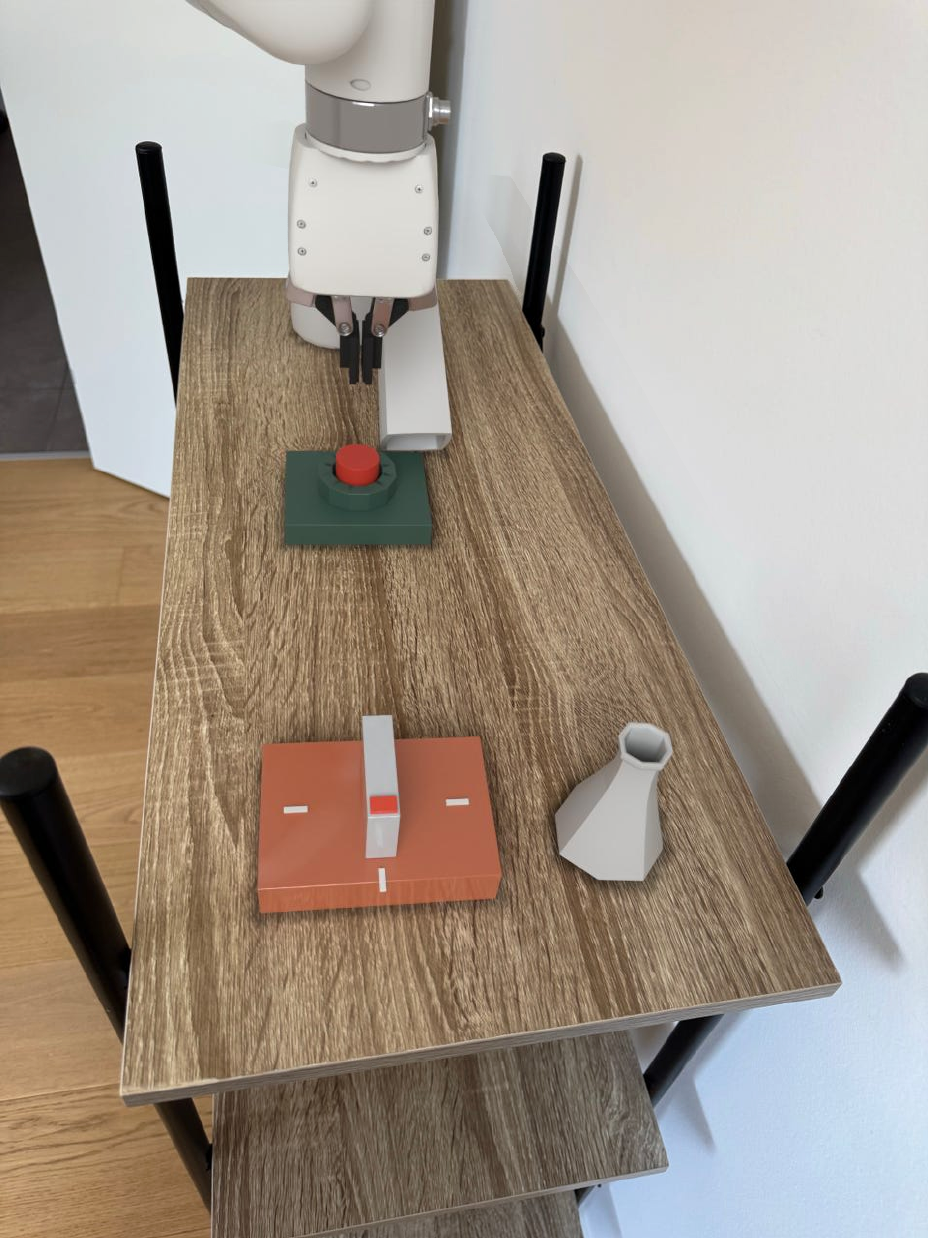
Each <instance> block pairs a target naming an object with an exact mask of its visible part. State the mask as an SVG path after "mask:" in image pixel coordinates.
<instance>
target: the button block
mask: <svg viewBox="0 0 928 1238" xmlns="http://www.w3.org/2000/svg"><path fill="white" fill-rule="evenodd" d="M339 449H340V448H338V449H335V450H329V451H328V450H286V451H285V452H286V453H285V482H284V483H285V491H284V494H285V495H284V542H285V546H428V545H431V542H432V541H431V540H432V532H433V520H432V515H431V508H430V500H429V493H428V487H427V479H426V473H425V465H424V458H423V453H422V452H414V451H379V450H376V451H377V453H378V454H379V476H378V478H377V480H376V481H375V482H373V483H371V484H368V485H349V484H347V483H344V482H341V481H340V480H339V479H338V478H337V476H336V453H337V452H338V450H339Z"/></svg>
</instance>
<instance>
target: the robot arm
mask: <svg viewBox="0 0 928 1238" xmlns="http://www.w3.org/2000/svg"><path fill="white" fill-rule="evenodd" d="M184 1H185V2H186V3H188V4H189V5H190V6H192V7H193V8H195V9H196V10H198V11H199V12H201V13H203V14H205V15H206V16H208V17H209V18H210V19H212V20H214V21H215V22H217V23H218V24H220V25H222V26H224V27H225V28H228V29H230V30H231V31H232V32H234V33H236V34H238V35H239V36H241V37H242V38H244V39H245V40H247V41H248V42H250V43H252V45H255V46H256V47H257V48H259V49H261V50H262V51H263V52H265V53H266V54H268V55H270V56H271V57H273V58H275V59H277V60H280V61H283V62H286V63H288V64H292V65H299V66H304V101H305V102H304V104H305V107H304V108H305V109H304V110H305V122H302V123H300V124H298V125H297V126H295V128H294V132H293V135H292V142H291V148H290V158H289V166H288V183H287V186H288V187H287V188H288V189H287V190H288V191H287V192H288V193H287V253H288V255H287V256H288V274H287V276H286V277H287V278H286V281H285V287H284V288H285V289H284V297H285V299H286V300H287V301H288V302H290V303H291V302H293V303H296V304H300V305H304V306H307V307H314V308H317V310H318V311H319V312H320V313H322V314H323V315H324V316H325V317H326V318H327V319H328V320H329V321H330V322H331V323H332V324H333V325H334V326H335V327H336V329H337V332H338V333H339V334H340V349H339V368H340V369H348V381H349V385H357V383H360V368H361V380H362V383H364V385H369V386H372V385H373V374H374V373H373V372H374V371H373V370H378V369H381V363H382V340H383V336H385V335H386V333H387V331H388V328H389V327H390V326H392V325H393V324H394V323H395V322H396V321H397V320H399V319H400V318H401V317H402V316H403V315H405V314H406V313H407V312H408V311H417V310H422V309H427V308H432V307H434V306H436V305H437V302H438V303H439V299H437V297H438V293H437V294H436V288H437V287H436V288H435V279H437V271H438V270H437V268H438V252H439V251H438V249H439V215H440V213H439V212H440V211H439V210H440V209H439V205H440V204H439V189H438V188H439V186H438V185H439V179H438V177H439V176H438V157H437V149H436V141H435V138H434V137H433V135H431V134H430V133H428V132H432V128H433V127H438V125H444V126H445V125H447V126H450V122H451V114H452V104H451V100H446V99H445V100H443V99H440V98H439V97H438V96H434V94H433V91H430V90H429V88H430V87H429V86H430V74H431V62H432V61H431V58H432V45H433V32H434V19H435V5H436V3H435V2H436V0H184ZM350 297H372V298H371V304H370V309H369V312H368V313H367V314H366V316H365V320H362V346H360V332H359V320H357V318H356V314H355V313H354V312H353V311H352V306H351V299H350ZM360 366H361V367H360Z"/></svg>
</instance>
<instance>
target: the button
mask: <svg viewBox="0 0 928 1238" xmlns="http://www.w3.org/2000/svg"><path fill="white" fill-rule="evenodd" d="M338 449H339V450H338V452H337V453H336V476H337V478H338V479H339V480H340V481H341V482H344V483H347V484H349V485H368V484H371V483H373V482H375V481H376V480H377V478H378V476H379V454H378V453H377V451H378V450H376V449H375V448H373V447H371V446H369V445H366V444H361V443H351V444H346V445H344V446H342V447H340V448H338Z"/></svg>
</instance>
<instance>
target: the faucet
mask: <svg viewBox="0 0 928 1238" xmlns="http://www.w3.org/2000/svg"><path fill="white" fill-rule="evenodd" d="M436 279H437V278H436ZM436 279H435V288H436V294H437V295H438V290H437V280H436ZM437 299H438V296H437ZM438 300H439V299H438ZM439 309H440V308H439V301H438V302H437V305H436V306H434V307H432V308H427V309H422V310H417V311H408V312H407V313H406V314H405V315H403V316H402V317H401V318H400V319H399V320H397V321H396V322H395V323H394V324H393V325H392V326H390V327H389V328H388V331H387V333H386V335H385V336H383V340H382V363H381V369H377V385H378V386H377V390H378V391H377V392H378V420H379V424H378V425H379V448H380V452H430V451H442V450H443V449H445V448H446V447H447V446H448V445H449V444H450V442H451V440H452V437H453V430H452V420H451V410H450V402H449V392H448V382H447V374H446V364H445V355H444V345H443V336H442V327H441V317H440V310H439Z"/></svg>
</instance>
